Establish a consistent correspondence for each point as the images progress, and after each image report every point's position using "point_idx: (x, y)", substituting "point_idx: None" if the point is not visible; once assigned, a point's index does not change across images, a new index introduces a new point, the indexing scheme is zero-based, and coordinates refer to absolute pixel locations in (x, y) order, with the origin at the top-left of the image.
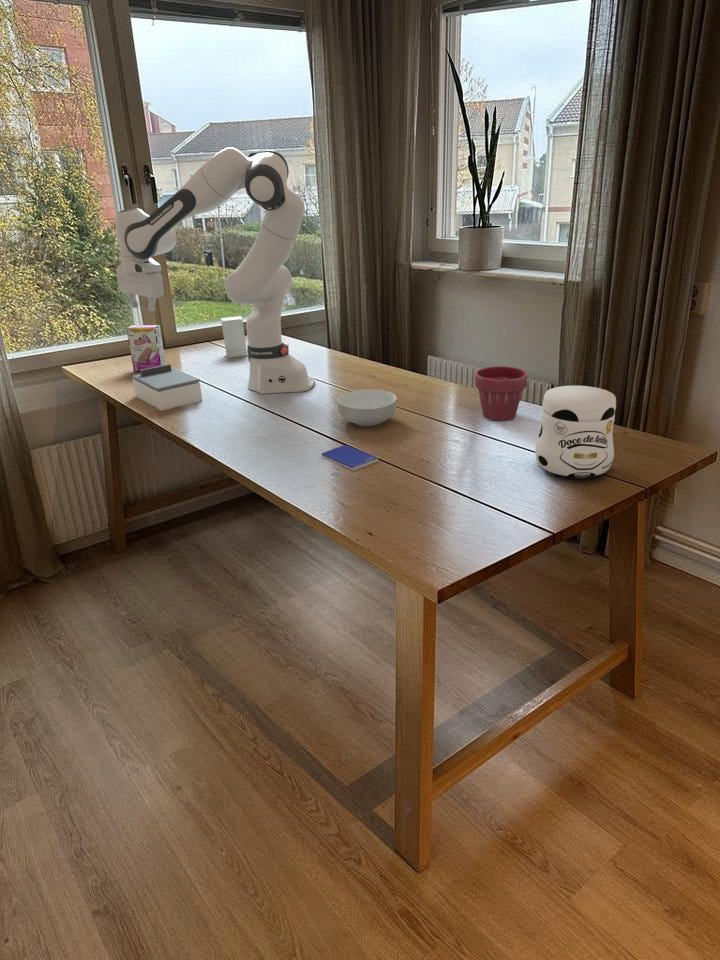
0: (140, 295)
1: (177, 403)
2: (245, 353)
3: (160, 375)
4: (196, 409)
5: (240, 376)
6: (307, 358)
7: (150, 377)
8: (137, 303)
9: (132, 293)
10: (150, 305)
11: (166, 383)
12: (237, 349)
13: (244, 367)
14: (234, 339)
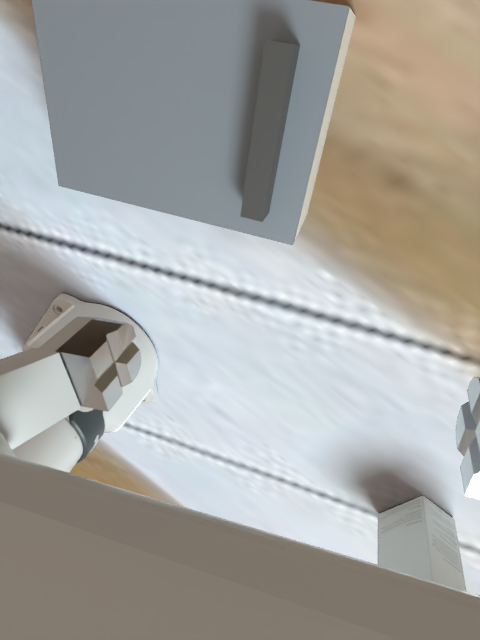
0: (55, 470)
1: None
2: (380, 519)
3: (216, 121)
4: (38, 90)
5: (234, 380)
6: (229, 512)
7: (224, 62)
8: (463, 467)
9: (368, 579)
10: (27, 353)
11: (78, 51)
12: (396, 525)
13: (296, 440)
14: (400, 555)
